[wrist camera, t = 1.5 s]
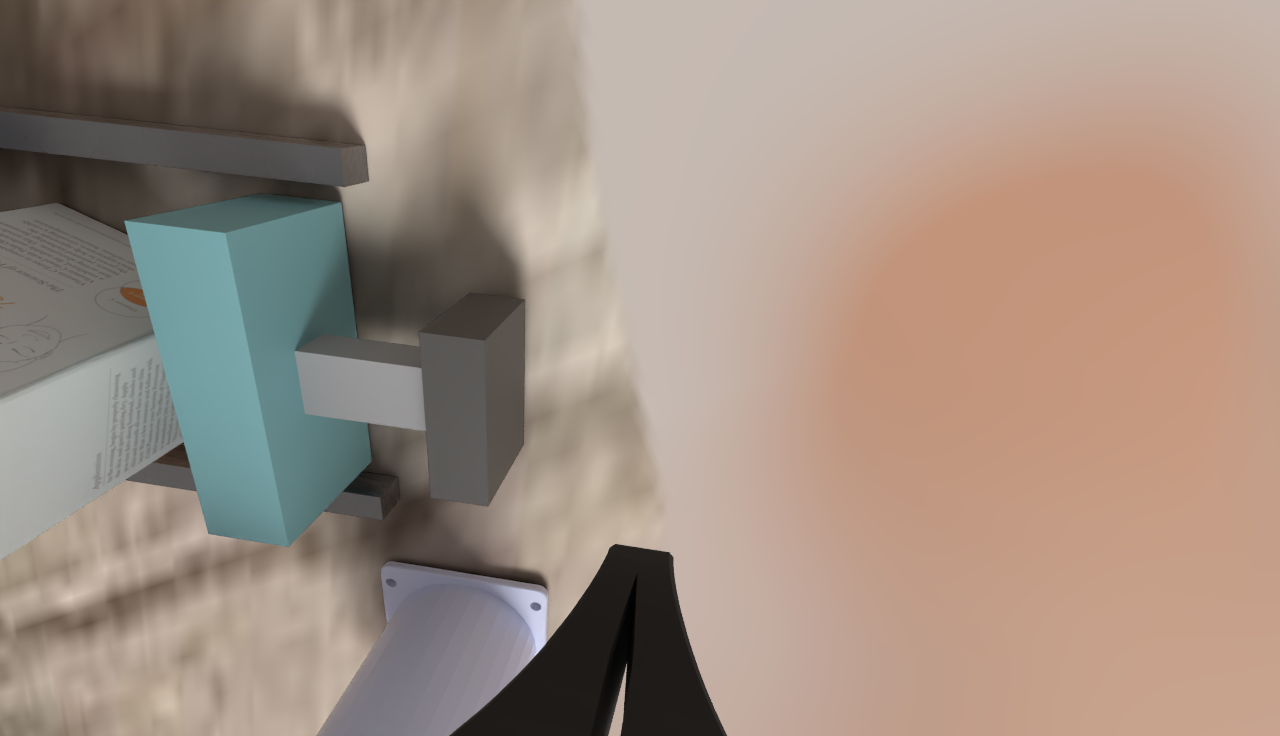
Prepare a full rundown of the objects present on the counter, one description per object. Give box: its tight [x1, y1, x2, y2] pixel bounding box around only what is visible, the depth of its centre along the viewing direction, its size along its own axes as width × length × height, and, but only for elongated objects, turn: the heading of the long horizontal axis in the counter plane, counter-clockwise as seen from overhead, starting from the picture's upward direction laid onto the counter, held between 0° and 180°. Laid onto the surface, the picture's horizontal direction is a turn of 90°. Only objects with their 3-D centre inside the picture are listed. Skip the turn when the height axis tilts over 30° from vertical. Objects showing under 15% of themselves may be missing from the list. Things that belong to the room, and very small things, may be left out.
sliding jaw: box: [124, 193, 525, 547], centre depth 21 cm, size 11×10×6 cm
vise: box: [0, 106, 400, 520], centre depth 22 cm, size 15×19×6 cm
